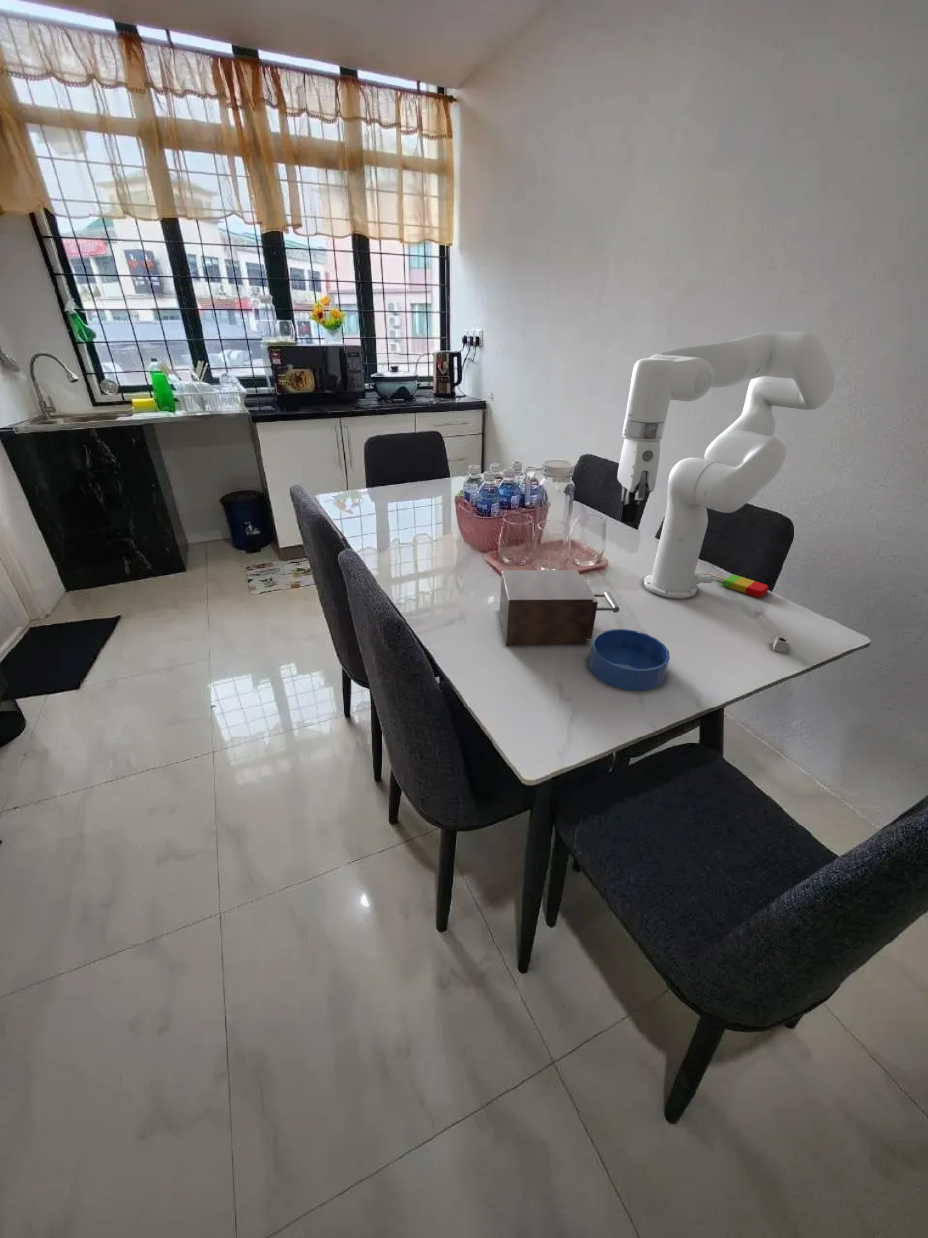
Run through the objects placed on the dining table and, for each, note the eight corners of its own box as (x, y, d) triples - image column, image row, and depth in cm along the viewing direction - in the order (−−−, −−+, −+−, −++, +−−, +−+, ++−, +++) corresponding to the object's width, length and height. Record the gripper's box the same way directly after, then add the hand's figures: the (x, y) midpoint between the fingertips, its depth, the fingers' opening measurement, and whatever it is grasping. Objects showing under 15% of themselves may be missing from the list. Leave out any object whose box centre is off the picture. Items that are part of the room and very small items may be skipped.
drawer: (602, 609, 114) (608, 574, 110) (618, 639, 104) (626, 601, 99) (510, 610, 113) (512, 575, 109) (517, 640, 103) (520, 602, 98)
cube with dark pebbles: (773, 650, 102) (777, 640, 101) (772, 645, 104) (776, 635, 103) (785, 652, 102) (789, 642, 100) (784, 647, 103) (788, 637, 102)
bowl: (648, 647, 103) (653, 628, 100) (676, 690, 91) (682, 670, 88) (581, 648, 102) (584, 629, 100) (599, 691, 90) (603, 671, 88)
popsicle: (760, 599, 122) (762, 592, 121) (699, 578, 131) (701, 572, 130) (768, 592, 125) (770, 585, 124) (709, 573, 134) (710, 566, 133)
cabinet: (571, 612, 115) (577, 570, 110) (586, 644, 103) (593, 599, 98) (499, 612, 114) (501, 570, 109) (505, 645, 103) (509, 599, 97)
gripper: (677, 437, 91) (656, 533, 100) (648, 423, 104) (632, 509, 113) (637, 437, 91) (619, 533, 100) (612, 423, 104) (599, 509, 113)
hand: (626, 520), depth 107 cm, fingers closed
